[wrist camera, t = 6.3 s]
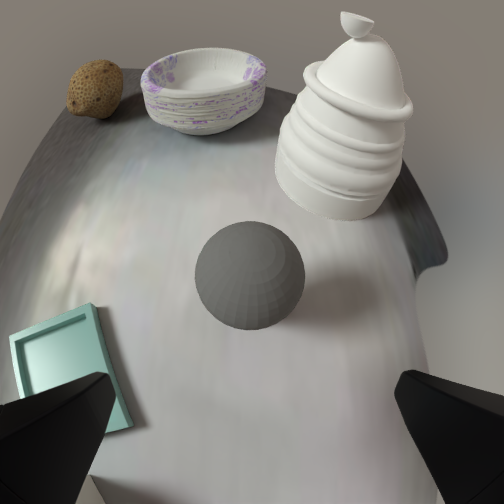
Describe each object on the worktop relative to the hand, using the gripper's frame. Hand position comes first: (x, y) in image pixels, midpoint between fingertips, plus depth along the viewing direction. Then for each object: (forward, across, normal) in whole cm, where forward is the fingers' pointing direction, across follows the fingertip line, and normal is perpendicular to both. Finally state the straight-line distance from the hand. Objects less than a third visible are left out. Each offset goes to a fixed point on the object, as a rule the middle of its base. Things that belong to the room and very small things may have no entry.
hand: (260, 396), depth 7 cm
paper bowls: (+32, -6, +13) cm, 36 cm away
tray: (+8, -15, -10) cm, 20 cm away
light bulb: (+14, 0, -5) cm, 15 cm away
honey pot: (+25, +9, +6) cm, 27 cm away
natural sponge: (+34, -22, +15) cm, 43 cm away
